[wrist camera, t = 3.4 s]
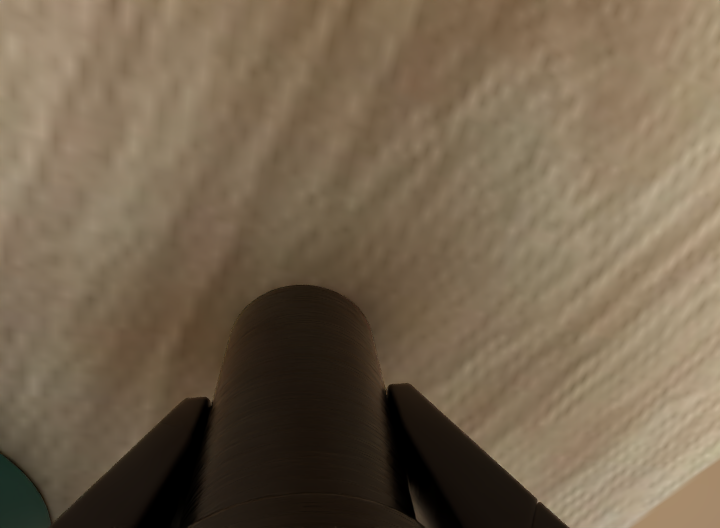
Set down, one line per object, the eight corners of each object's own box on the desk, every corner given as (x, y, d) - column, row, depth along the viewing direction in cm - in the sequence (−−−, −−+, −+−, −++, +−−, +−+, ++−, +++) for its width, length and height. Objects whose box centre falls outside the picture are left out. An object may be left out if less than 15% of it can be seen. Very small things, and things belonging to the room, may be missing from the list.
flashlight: (419, 341, 11) (648, 913, 4) (306, 439, 12) (309, 1069, 4) (296, 235, 10) (267, 802, 2) (178, 354, 10) (-115, 1052, 3)
